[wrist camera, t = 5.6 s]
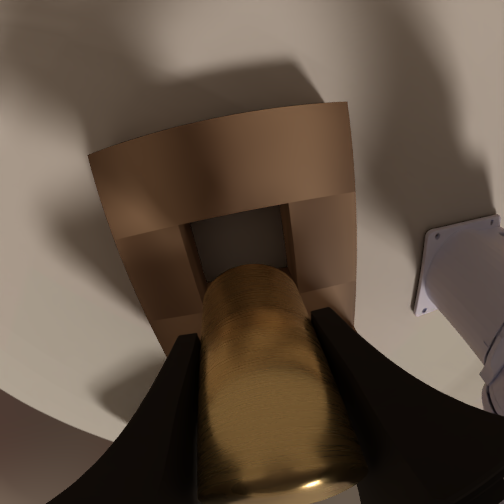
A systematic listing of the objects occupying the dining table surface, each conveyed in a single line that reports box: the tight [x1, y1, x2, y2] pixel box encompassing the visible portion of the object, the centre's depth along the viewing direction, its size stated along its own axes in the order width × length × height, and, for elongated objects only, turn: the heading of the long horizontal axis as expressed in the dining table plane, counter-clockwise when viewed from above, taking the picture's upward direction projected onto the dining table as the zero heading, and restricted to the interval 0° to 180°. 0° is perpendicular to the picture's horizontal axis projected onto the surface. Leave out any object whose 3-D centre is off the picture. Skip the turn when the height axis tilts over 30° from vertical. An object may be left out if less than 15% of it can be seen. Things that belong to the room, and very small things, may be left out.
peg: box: [197, 264, 368, 504], centre depth 8 cm, size 4×4×7 cm
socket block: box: [88, 102, 357, 357], centre depth 12 cm, size 13×15×11 cm
